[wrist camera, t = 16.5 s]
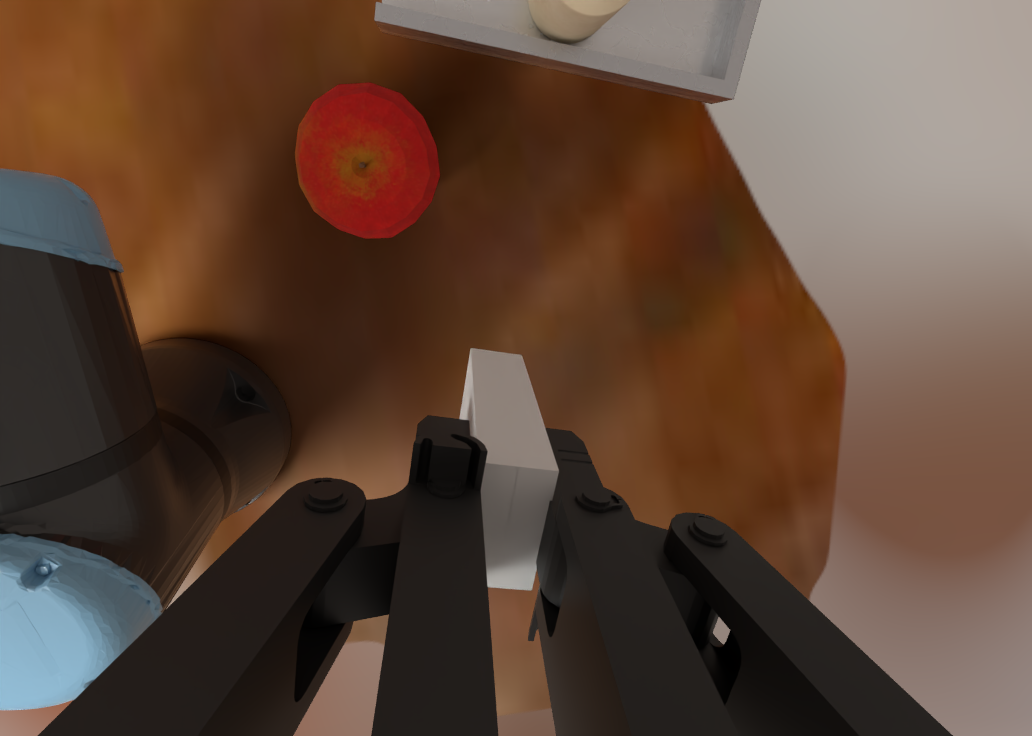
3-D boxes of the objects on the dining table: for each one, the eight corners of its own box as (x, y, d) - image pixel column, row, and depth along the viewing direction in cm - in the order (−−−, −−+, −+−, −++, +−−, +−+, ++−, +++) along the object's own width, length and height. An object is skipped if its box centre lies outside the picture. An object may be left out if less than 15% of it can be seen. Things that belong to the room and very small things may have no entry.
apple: (340, 79, 39) (294, 49, 28) (457, 122, 41) (457, 109, 30) (313, 202, 42) (262, 218, 31) (424, 238, 44) (413, 265, 33)
